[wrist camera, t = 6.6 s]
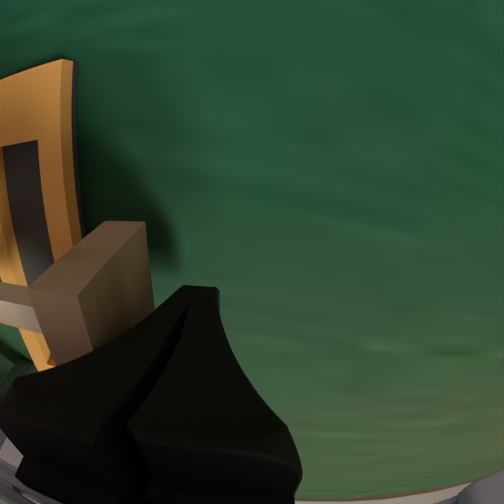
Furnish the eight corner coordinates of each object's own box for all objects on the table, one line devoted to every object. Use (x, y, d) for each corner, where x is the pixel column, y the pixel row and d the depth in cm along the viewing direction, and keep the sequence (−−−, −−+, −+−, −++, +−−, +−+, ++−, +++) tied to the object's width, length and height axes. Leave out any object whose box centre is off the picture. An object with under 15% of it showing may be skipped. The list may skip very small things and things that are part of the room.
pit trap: (127, 397, 17) (121, 412, 15) (56, 380, 17) (49, 392, 16) (78, 62, 9) (62, 59, 8) (-8, 89, 9) (-24, 90, 8)
